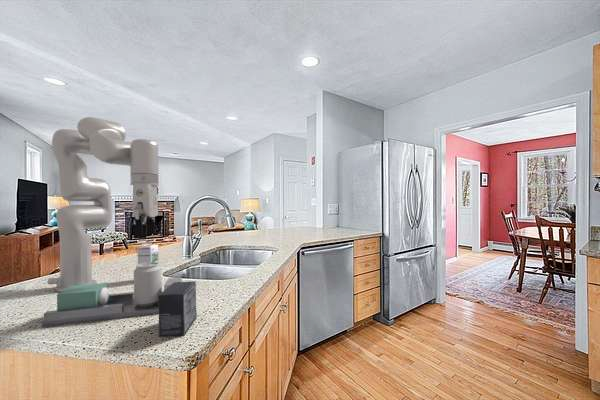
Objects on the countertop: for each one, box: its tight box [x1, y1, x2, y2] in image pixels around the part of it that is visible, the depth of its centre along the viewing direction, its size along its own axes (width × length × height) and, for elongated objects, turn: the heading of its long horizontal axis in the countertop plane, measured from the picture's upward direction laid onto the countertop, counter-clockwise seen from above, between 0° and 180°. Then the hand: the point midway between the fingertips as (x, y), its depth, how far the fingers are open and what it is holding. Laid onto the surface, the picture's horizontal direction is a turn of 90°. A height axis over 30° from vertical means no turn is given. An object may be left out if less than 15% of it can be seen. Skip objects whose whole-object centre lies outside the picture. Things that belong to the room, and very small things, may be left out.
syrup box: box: [136, 243, 159, 265], centre depth 116 cm, size 6×6×14 cm
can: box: [133, 262, 163, 306], centre depth 86 cm, size 8×8×12 cm
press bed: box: [41, 276, 183, 328], centre depth 83 cm, size 33×12×8 cm, turn 107°
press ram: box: [56, 282, 109, 310], centre depth 81 cm, size 10×8×6 cm
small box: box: [158, 280, 198, 338], centre depth 73 cm, size 11×6×10 cm, turn 5°
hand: (145, 236), depth 85 cm, fingers open, 9 cm apart
